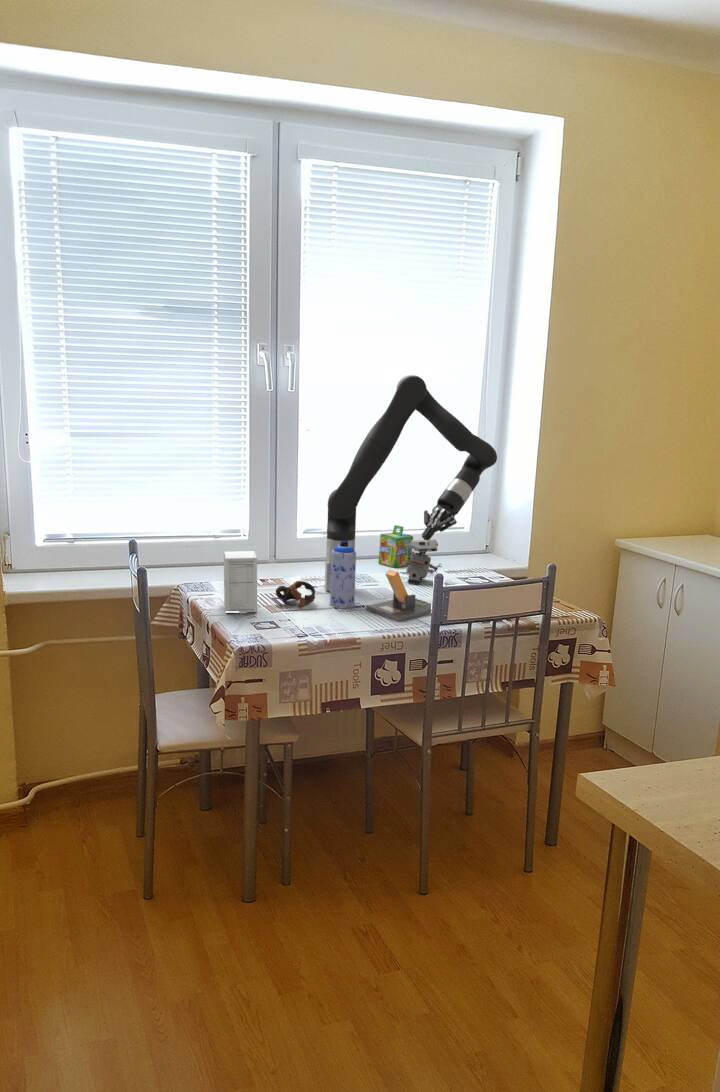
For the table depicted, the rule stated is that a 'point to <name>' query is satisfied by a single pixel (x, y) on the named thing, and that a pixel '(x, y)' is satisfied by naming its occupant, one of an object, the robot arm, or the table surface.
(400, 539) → the chalk box
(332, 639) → the table surface
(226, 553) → the supplement box
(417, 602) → the plate
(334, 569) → the blue patterned bottle
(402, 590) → the lever
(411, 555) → the figurine
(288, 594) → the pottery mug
